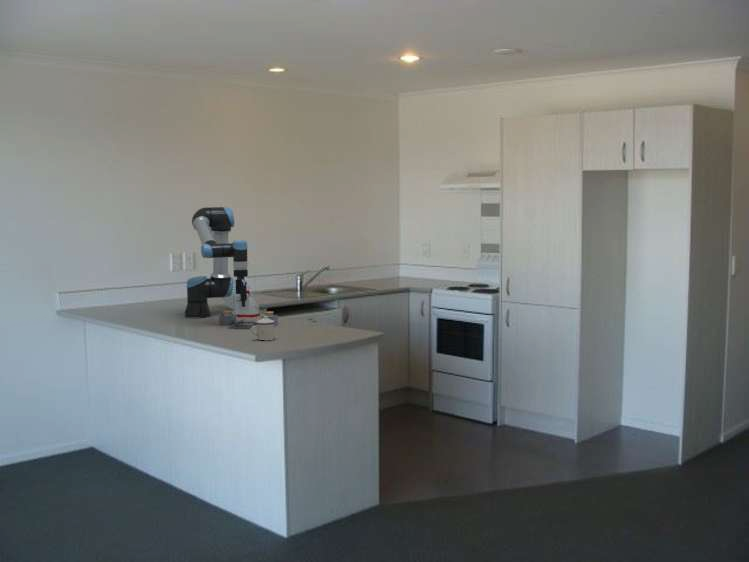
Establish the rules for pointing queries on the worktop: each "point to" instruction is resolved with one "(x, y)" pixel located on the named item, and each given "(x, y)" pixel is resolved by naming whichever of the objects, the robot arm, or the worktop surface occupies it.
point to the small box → (237, 304)
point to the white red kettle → (251, 308)
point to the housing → (232, 320)
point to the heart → (234, 291)
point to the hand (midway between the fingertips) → (241, 312)
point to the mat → (242, 326)
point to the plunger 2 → (269, 314)
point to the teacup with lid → (265, 329)
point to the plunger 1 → (227, 313)
